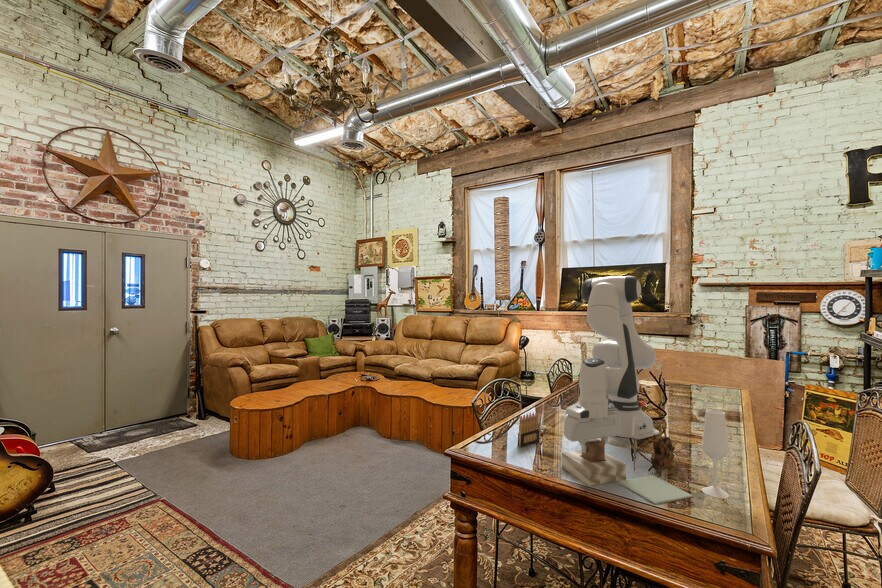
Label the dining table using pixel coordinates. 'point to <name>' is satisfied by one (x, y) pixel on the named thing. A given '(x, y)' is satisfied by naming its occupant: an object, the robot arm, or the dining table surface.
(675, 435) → the dining table surface
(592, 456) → the walnut peg
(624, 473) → the pocket block
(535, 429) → the ammunition clip
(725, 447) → the champagne flute
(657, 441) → the wooden carving
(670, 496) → the sage mat
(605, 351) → the robot arm
